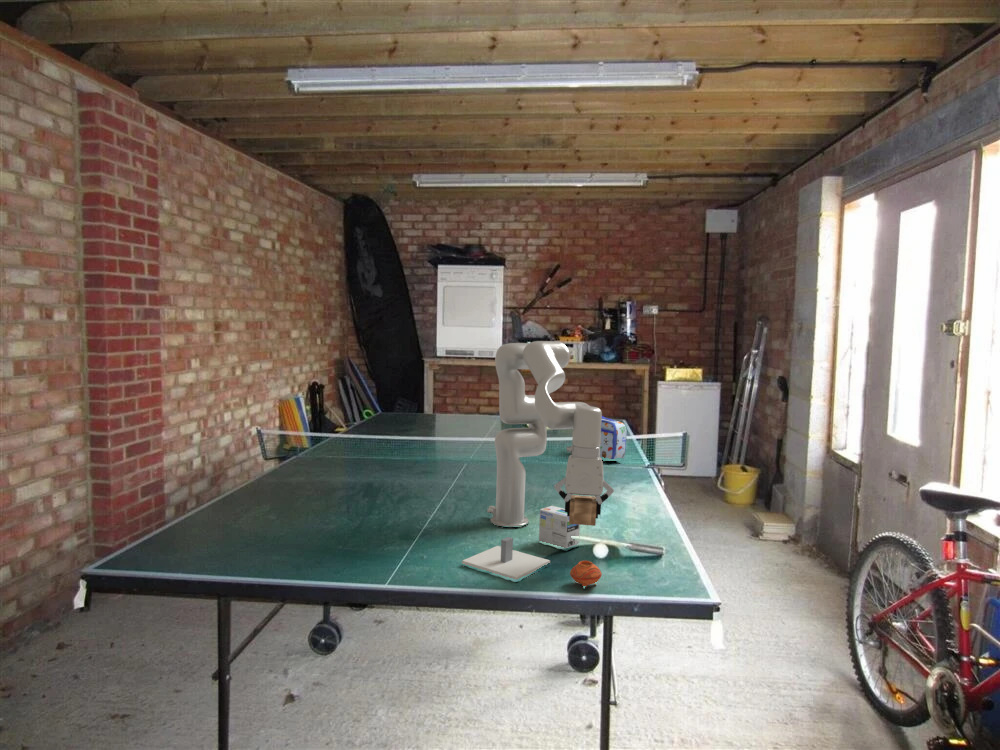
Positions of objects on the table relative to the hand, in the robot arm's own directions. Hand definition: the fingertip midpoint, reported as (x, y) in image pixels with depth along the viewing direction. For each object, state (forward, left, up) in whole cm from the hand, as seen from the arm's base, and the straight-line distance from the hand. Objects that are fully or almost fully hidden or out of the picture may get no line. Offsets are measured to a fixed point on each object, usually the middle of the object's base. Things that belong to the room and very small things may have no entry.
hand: (582, 515), depth 177 cm
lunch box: (-65, +136, -14) cm, 152 cm away
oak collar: (0, 0, -1) cm, 1 cm away
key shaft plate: (-16, -13, -14) cm, 25 cm away
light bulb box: (-14, +11, -15) cm, 23 cm away
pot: (+8, -11, -15) cm, 20 cm away
